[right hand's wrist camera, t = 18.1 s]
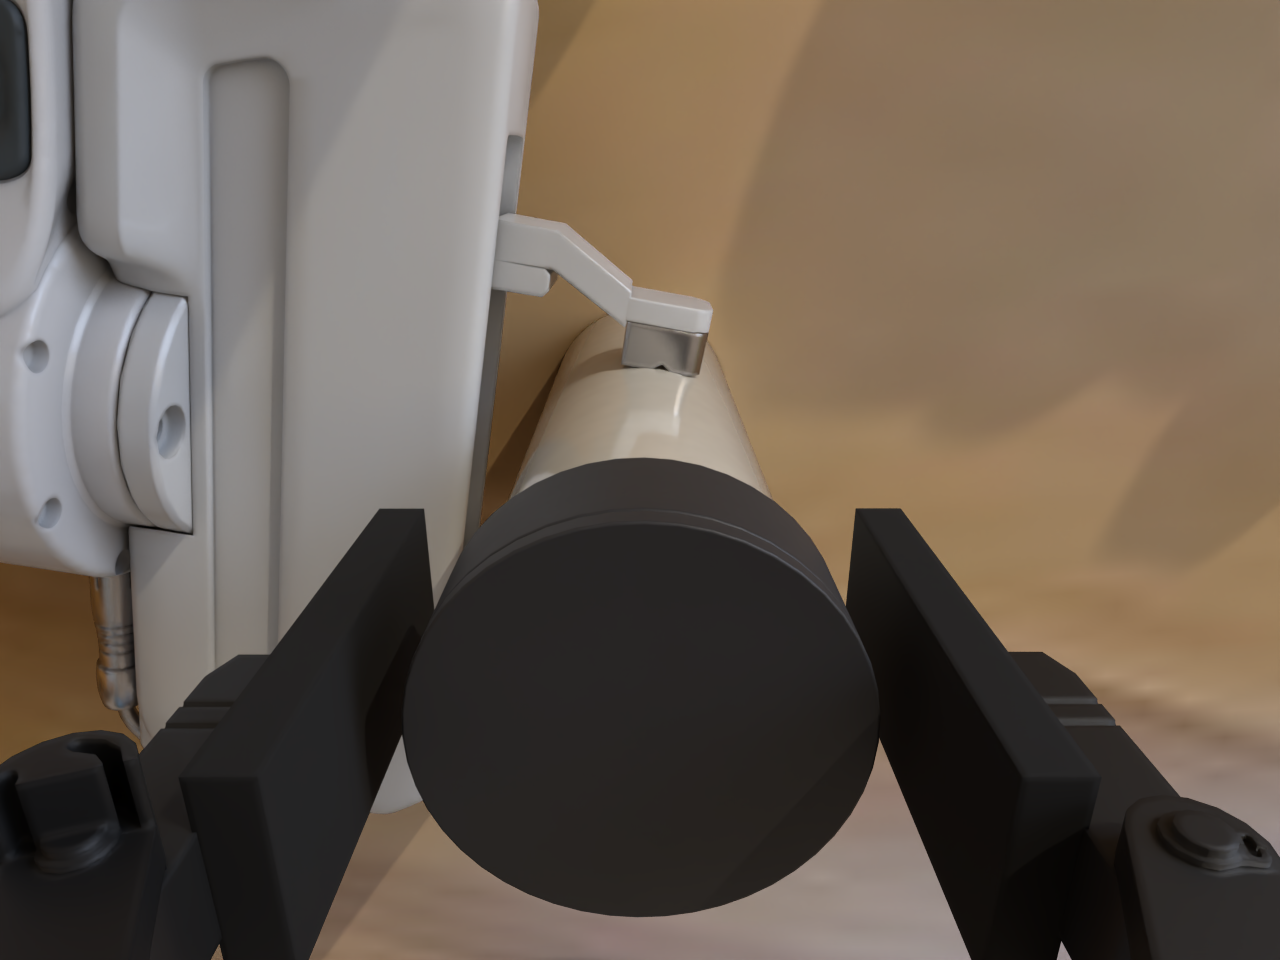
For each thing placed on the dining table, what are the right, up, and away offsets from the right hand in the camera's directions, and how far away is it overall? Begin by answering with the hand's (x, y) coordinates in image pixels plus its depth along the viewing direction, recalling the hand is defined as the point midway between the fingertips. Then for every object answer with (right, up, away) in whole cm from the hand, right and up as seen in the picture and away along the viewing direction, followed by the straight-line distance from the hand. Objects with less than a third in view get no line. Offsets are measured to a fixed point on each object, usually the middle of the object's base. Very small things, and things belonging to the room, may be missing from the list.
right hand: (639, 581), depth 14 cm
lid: (0, -1, -4) cm, 4 cm away
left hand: (+1, +2, +5) cm, 6 cm away
